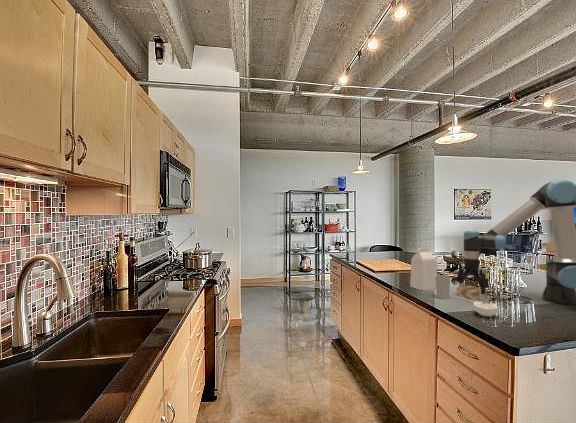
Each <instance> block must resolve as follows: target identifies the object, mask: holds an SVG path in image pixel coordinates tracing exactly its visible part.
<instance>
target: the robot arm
mask: <svg viewBox="0 0 576 423" xmlns="http://www.w3.org/2000/svg"><path fill="white" fill-rule="evenodd" d="M546 209H547V210H548V211H550V215H551V216H550V217H551V223H552V231H553V238H554V240H553V241H554V248H555V256H556V257H555V258H548V257H547V259H546V262H545V267H546V268H545V271H546V273H545V274H546V276H545V278H546V283H545V284H546V285H545V287H544V290H543V292H542V300H544V301H547V302H550V303H553V304H554V303H555V304H559V305H568V306H569V305H570V306H575V305H576V223H575V222H576V221H575V215H574V214H575V212H574V209H576V184H575V183H574V182H573V181H570V180H567V179H560V180H559V179H558V180H554V181H551V182H550V181H549V182H548V183H546V184H544V185H543V186H541V187H540V188H539V189H538V190H537V191H535V193H533V194H532V195H531V196H530V197H529V200H527V202H525V203H524V204H522V205H521V206H520V207H518V208H517V209H516V210H514V211H513V212H512V213H511V214H509V215H507V217H506V218H504V219H503V220H502V221H500V222H499V223H497V224H496V225H494V227H492V228H491V229H490V230H488V231H487V232H486V233H483V234H480V232H479V230H465V231H464V233H463V265H459V270H458V274H457V276H456V278H455V281H456V282H458V284H459V286H458V287H464V286H466V284H465V280H466V279H467V278H468V277H469V275H471V276H473V278H475V280H476V282H477V284H478V285H479V287H478V288H479V300H484V294H485V289H488V288H489V283H488V280H487V277H486V273H485V270H486V269H484V268H482V269H480V268H479V266H480V259H479V258H480V249H490V250H491V249H493V250H503V249H505V248H506V236H508V235H509V234H510V233H512V232H513V231H514V230H516V229H517V228H518V227H520V226H522V225H523V224H524V223H526V222H527V221H528V220H530V219H531V218H532V217H534V216H535V215H536V214H538V213H540V211H542V210H546Z"/></svg>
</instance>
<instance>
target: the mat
mask: <svg viewBox="0 0 576 423" xmlns="http://www.w3.org/2000/svg"><path fill="white" fill-rule="evenodd" d="M452 297H454V298H455V297H456V298H459V299H462V300H465V301H469V302H472V303H474V302H482V301H484V300H487V301H491V300H493V299H492V298H489V297H487V299H484V300H477V301H472V300H469V299H465V298H462V297H458V296H457V294H453V295H452Z"/></svg>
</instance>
